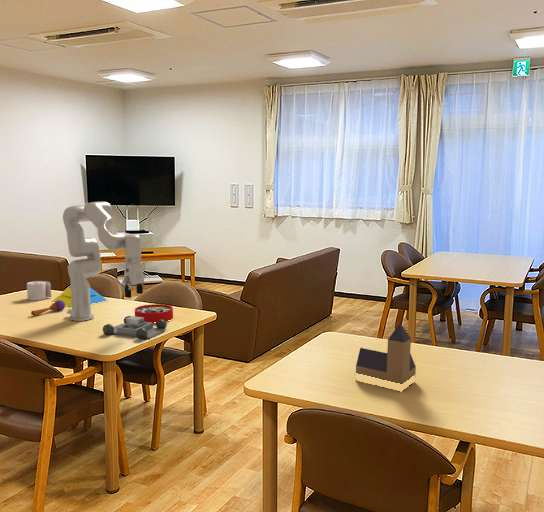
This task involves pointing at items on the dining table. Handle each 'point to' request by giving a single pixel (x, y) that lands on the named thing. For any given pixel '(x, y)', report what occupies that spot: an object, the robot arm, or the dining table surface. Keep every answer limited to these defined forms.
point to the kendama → (50, 308)
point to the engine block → (134, 322)
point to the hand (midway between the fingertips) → (134, 295)
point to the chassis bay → (141, 332)
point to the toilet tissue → (38, 290)
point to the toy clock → (154, 312)
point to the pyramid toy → (67, 297)
